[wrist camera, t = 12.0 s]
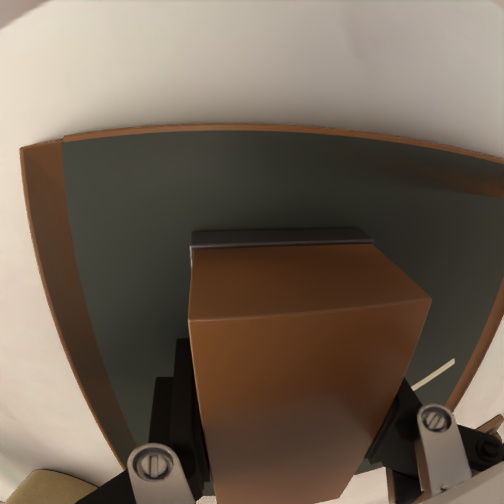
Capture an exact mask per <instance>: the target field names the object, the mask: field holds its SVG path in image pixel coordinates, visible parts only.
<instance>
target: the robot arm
mask: <svg viewBox="0 0 504 504" xmlns="http://www.w3.org/2000/svg"><path fill="white" fill-rule="evenodd" d="M364 458H365V459H366V458H368V460H369V463H370V465H372V464H375V463H378V462H382V464H383V466H384V467H386V476H387V487H388V499H389V504H504V443H503V444H502V443H501V441H500V440H499V439H498V438H497V437H495V436H493V435H491V434H487V433H484V432H481V431H477V430H474V429H471V428H468V427H464V426H461V425H458V424H457V423H456V420H455V417H454V415H453V413H452V412H451V411H450V410H449V409H448V408H447V407H445V406H444V405H441V404H438V403H430V404H426V405H424V406H423V405H422V403H421V402H420V400H419V399H418V397H417V396H416V394H415V392H414V391H413V389H412V388H411V386H410V385H409V383H408V382H407V380H406V379H405V377H404V378H403V380H402V383H401V385H400V387H399V389H398V392H397V394H396V396H395V398H394V400H393V403H392V405H391V407H390V409H389V411H388V413H387V415H386V417H385V419H384V421H383V423H382V425H381V427H380V429H379V431H378V433H377V435H376V437H375V438H374V440H373V442H372V444H371V446H370V448H369V449H368V451H367V453H366V455H365V457H364ZM204 482H210V469H209V462H208V456H207V451H206V445H205V440H204V434H203V428H202V422H201V416H200V410H199V403H198V397H197V390H196V383H195V376H194V369H193V361H192V353H191V345H190V338H177V341H176V352H175V363H174V375H173V377H156V380H155V387H154V395H153V403H152V411H151V420H150V430H149V440H148V443H147V444H144V445H141V446H139V447H137V448H136V449H134V450H133V452H132V453H131V454H130V456H129V458H128V469H126V470H125V471H123V472H122V473H120V474H119V475H117V476H116V477H114V478H113V479H111V480H110V481H108V482H107V483H105V484H104V485H102V486H101V487H99V488H97V489H96V490H94V491H93V492H91V493H90V494H88V495H86V496H85V497H83V498H81V499H80V500H78V501H77V502H75V503H74V504H196V503H195V502H196V501H197V500H198V499H200V498H201V497H202V496H203V492H202V490H204Z"/></svg>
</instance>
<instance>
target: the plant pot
mask: <svg viewBox="0 0 504 504" xmlns="http://www.w3.org/2000/svg"><path fill="white" fill-rule="evenodd" d="M96 489H97V487H95V486H93V485H91V484H89V483H87V482H84V481H82V480H79V479H77V478H74V477H71V476H68V475H65V474H62V473H58V472H55V471H49V470H35V471H33V472H32V473H31V474H30V475H29V476H28V477H27V478H26V479H25V480H24V481H23V482H22V483H21V485H20V486H19V487H18V488H17V489H16V490H15V491H14V492H13V493H12V494H11V496H10V497H9V498H8V499H7V501H6V502H5V503H4V504H74V503H75V502H77V501H78V500H80V499H81V498H83V497H85V496H86V495H88V494H90V493H91V492H93V491H94V490H96Z"/></svg>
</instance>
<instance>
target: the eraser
mask: <svg viewBox="0 0 504 504" xmlns="http://www.w3.org/2000/svg"><path fill="white" fill-rule="evenodd" d="M189 250H190V265H191V282H190V295H189V308H188V328H189V337H190V345H191V353H192V361H193V369H194V376H195V383H196V390H197V397H198V403H199V410H200V416H201V422H202V428H203V434H204V440H205V445H206V451H207V456H208V462H209V467H210V472H211V477H212V482H213V487H214V492H215V496H216V501H217V504H315V503H319V502H324V501H328V500H333V499H337V498H339V497H340V496H341V494H342V493H343V491H344V489H345V488H346V486H347V485H348V483H349V482H350V480H351V478H352V477H353V475H354V474H355V472H356V470H357V469H358V467H359V465H360V463H361V462H362V460H363V458H364V457H365V455H366V453H367V451H368V449H369V448H370V446H371V444H372V442H373V440H374V438H375V437H376V435H377V433H378V431H379V429H380V427H381V425H382V423H383V421H384V419H385V417H386V415H387V413H388V411H389V409H390V407H391V405H392V403H393V400H394V398H395V396H396V394H397V392H398V389H399V387H400V385H401V383H402V380H403V378H404V376H405V373H406V371H407V368H408V366H409V363H410V361H411V358H412V356H413V353H414V351H415V348H416V345H417V343H418V340H419V337H420V334H421V332H422V329H423V326H424V323H425V320H426V317H427V314H428V311H429V308H430V305H431V301H432V298H431V297H430V296H429V295H428V294H427V293H426V292H425V291H424V290H423V289H422V288H421V287H420V286H418V285H417V284H416V283H415V282H414V281H413V280H412V279H411V278H410V277H409V276H408V275H407V274H405V273H404V272H403V271H402V270H401V269H400V268H399V267H398V266H397V265H395V264H394V263H393V262H392V261H391V260H390V259H389V258H388V257H386V256H385V255H384V254H383V253H382V252H381V251H380V250H378V249H377V248H376V247H375V246H374V239H373V238H372V237H370V236H369V235H368V234H367V233H365V232H364V231H363V230H362V229H360V228H346V229H284V230H243V231H210V232H192V233H191V238H190V245H189Z"/></svg>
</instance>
